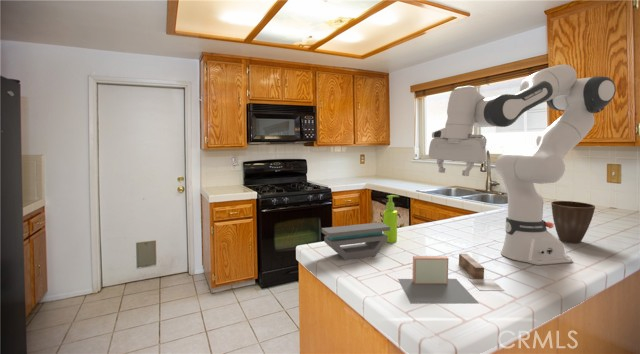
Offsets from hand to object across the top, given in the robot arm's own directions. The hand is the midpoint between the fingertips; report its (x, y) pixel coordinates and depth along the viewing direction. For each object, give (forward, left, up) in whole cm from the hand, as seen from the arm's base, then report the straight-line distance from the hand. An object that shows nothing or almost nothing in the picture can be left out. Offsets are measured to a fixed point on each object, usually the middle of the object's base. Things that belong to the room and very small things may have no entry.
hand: (453, 174), depth 117 cm
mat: (+13, +23, -32) cm, 41 cm away
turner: (-3, +13, -32) cm, 35 cm away
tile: (+13, +18, -31) cm, 38 cm away
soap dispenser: (+16, -28, -32) cm, 45 cm away
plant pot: (-60, -26, -32) cm, 73 cm away
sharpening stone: (+33, -9, -32) cm, 47 cm away
